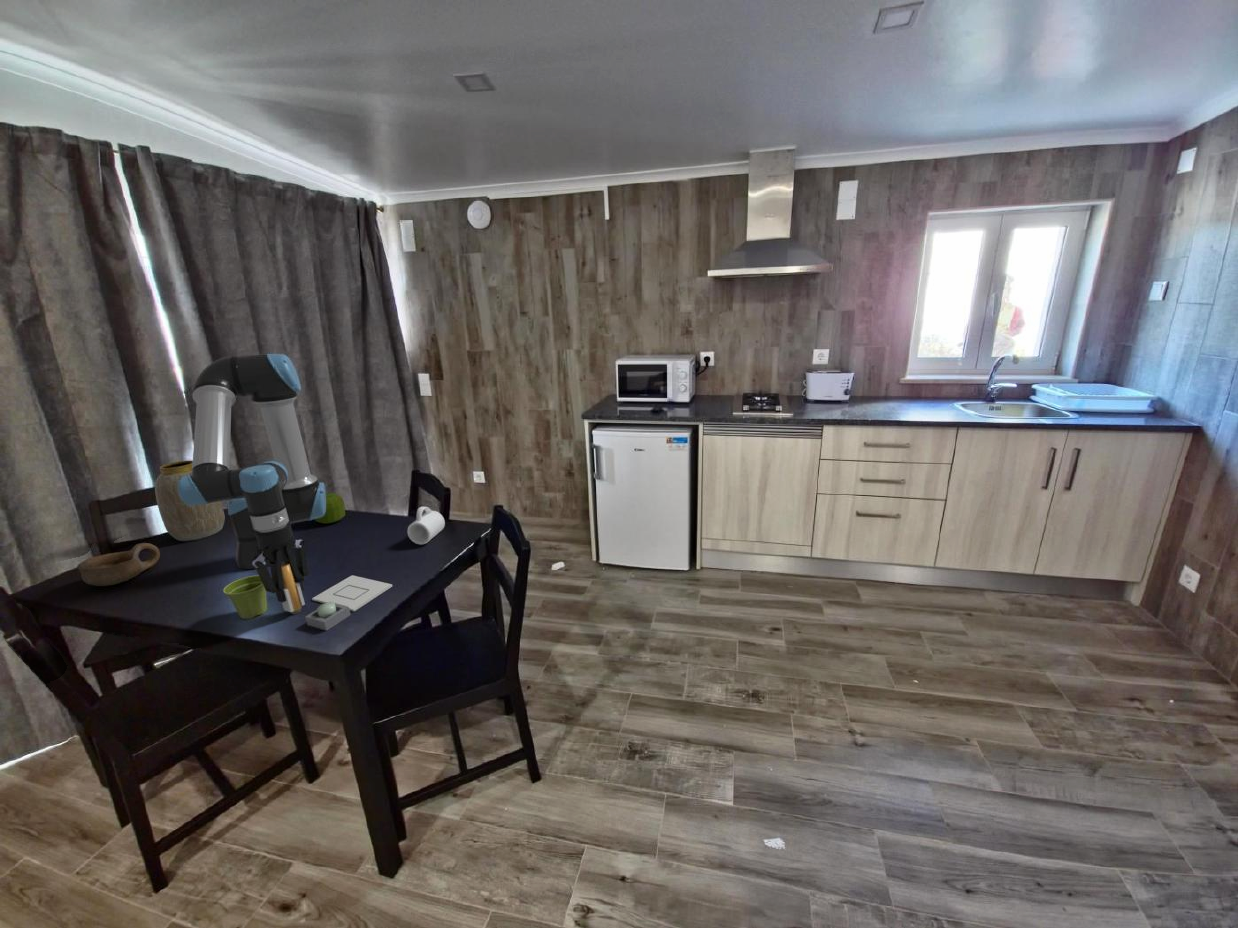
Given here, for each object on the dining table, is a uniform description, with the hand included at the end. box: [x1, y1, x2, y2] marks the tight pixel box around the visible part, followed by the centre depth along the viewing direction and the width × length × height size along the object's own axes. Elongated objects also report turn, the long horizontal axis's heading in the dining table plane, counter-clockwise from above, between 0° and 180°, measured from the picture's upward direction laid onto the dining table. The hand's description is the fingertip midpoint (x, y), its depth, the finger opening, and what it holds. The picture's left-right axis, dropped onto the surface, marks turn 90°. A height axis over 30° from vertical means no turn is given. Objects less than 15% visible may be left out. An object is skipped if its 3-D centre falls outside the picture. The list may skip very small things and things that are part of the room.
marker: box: [281, 562, 302, 615], centre depth 131 cm, size 3×3×14 cm
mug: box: [407, 506, 446, 546], centre depth 171 cm, size 8×10×12 cm
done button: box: [316, 602, 337, 619], centre depth 128 cm, size 4×4×3 cm
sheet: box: [311, 574, 393, 612], centre depth 141 cm, size 16×13×1 cm
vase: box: [154, 460, 226, 542], centre depth 181 cm, size 17×17×27 cm
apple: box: [314, 493, 346, 525], centre depth 190 cm, size 11×11×11 cm
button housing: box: [305, 603, 352, 631], centre depth 128 cm, size 7×7×2 cm
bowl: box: [76, 542, 161, 587], centre depth 154 cm, size 18×14×10 cm
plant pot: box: [222, 575, 268, 620], centre depth 132 cm, size 9×9×9 cm
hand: (294, 607), depth 132 cm, fingers closed on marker, 2 cm apart
